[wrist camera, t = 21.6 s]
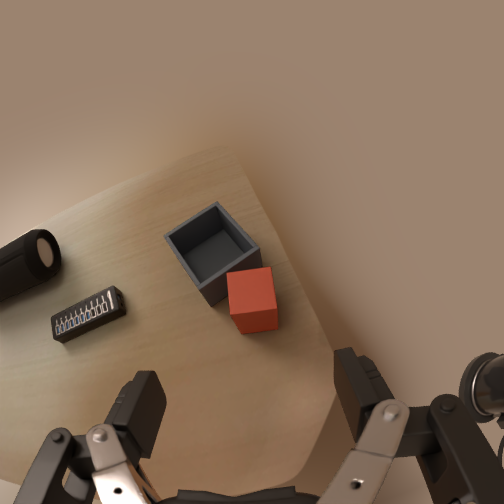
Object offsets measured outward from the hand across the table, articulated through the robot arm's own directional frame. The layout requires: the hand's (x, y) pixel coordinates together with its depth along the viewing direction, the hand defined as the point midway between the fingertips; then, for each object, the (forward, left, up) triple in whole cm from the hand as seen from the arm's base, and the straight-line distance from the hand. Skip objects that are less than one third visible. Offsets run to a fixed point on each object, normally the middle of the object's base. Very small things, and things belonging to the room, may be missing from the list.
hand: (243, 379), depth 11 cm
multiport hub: (+25, +18, -25) cm, 39 cm away
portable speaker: (+43, +31, -25) cm, 59 cm away
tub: (+19, -5, -25) cm, 32 cm away
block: (+9, -5, -25) cm, 27 cm away
